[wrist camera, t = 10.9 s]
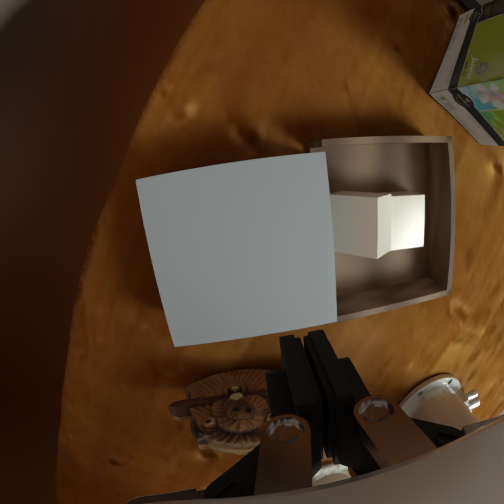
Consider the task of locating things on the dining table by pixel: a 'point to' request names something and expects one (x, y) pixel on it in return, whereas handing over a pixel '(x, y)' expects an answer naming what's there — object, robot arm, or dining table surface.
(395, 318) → the dining table surface
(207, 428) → the wooden carving
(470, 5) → the planter
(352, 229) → the cream upright block
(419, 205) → the cream square-faced block
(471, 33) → the tea box
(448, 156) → the box
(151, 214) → the grey square block
